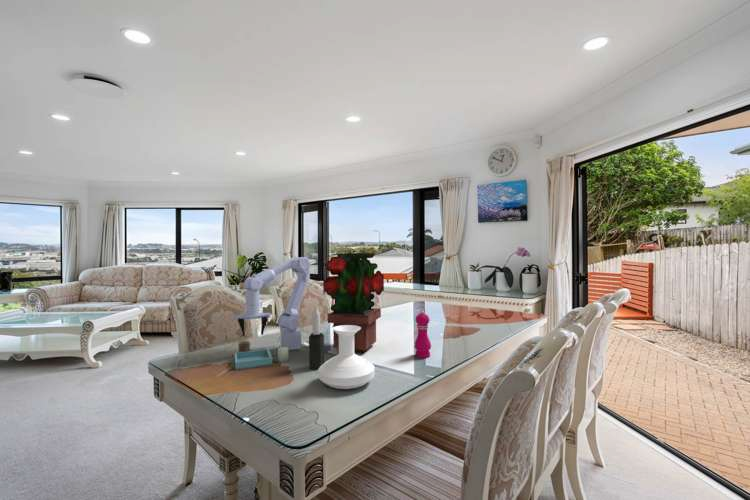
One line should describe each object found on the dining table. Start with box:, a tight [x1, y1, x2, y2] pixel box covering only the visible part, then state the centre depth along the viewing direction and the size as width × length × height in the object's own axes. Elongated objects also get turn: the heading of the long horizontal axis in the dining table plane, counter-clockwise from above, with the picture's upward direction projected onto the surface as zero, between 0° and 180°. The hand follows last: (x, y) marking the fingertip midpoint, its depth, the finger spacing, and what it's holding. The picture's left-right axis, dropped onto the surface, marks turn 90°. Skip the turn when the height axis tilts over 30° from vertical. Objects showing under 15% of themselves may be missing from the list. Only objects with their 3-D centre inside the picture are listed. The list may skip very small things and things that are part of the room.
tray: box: [234, 348, 273, 371], centre depth 147 cm, size 14×14×3 cm
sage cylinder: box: [277, 347, 289, 363], centre depth 150 cm, size 4×4×5 cm
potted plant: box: [322, 252, 385, 354], centre depth 166 cm, size 22×22×45 cm
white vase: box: [317, 325, 376, 390], centre depth 124 cm, size 20×20×19 cm
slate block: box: [264, 345, 277, 356], centre depth 158 cm, size 4×4×3 cm
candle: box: [308, 304, 325, 371], centre depth 140 cm, size 5×5×25 cm
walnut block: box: [238, 340, 251, 352], centre depth 157 cm, size 4×4×6 cm
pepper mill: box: [414, 309, 432, 359], centre depth 153 cm, size 7×7×20 cm
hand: (253, 335), depth 155 cm, fingers open, 7 cm apart
